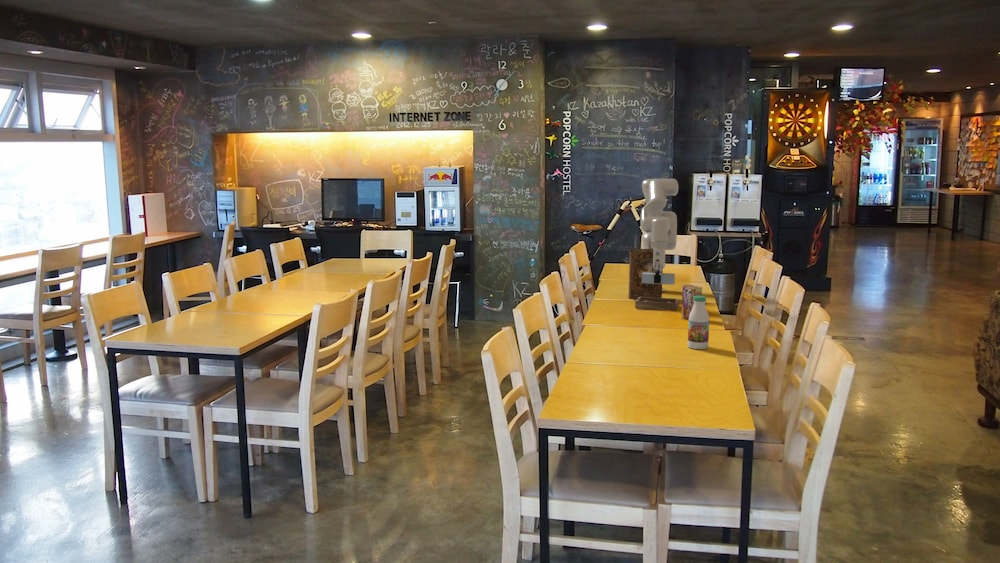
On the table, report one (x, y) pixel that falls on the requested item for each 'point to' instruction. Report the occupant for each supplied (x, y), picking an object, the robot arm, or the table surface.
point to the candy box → (689, 299)
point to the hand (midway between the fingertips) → (658, 281)
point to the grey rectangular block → (665, 278)
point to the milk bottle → (698, 324)
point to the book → (637, 265)
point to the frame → (657, 303)
